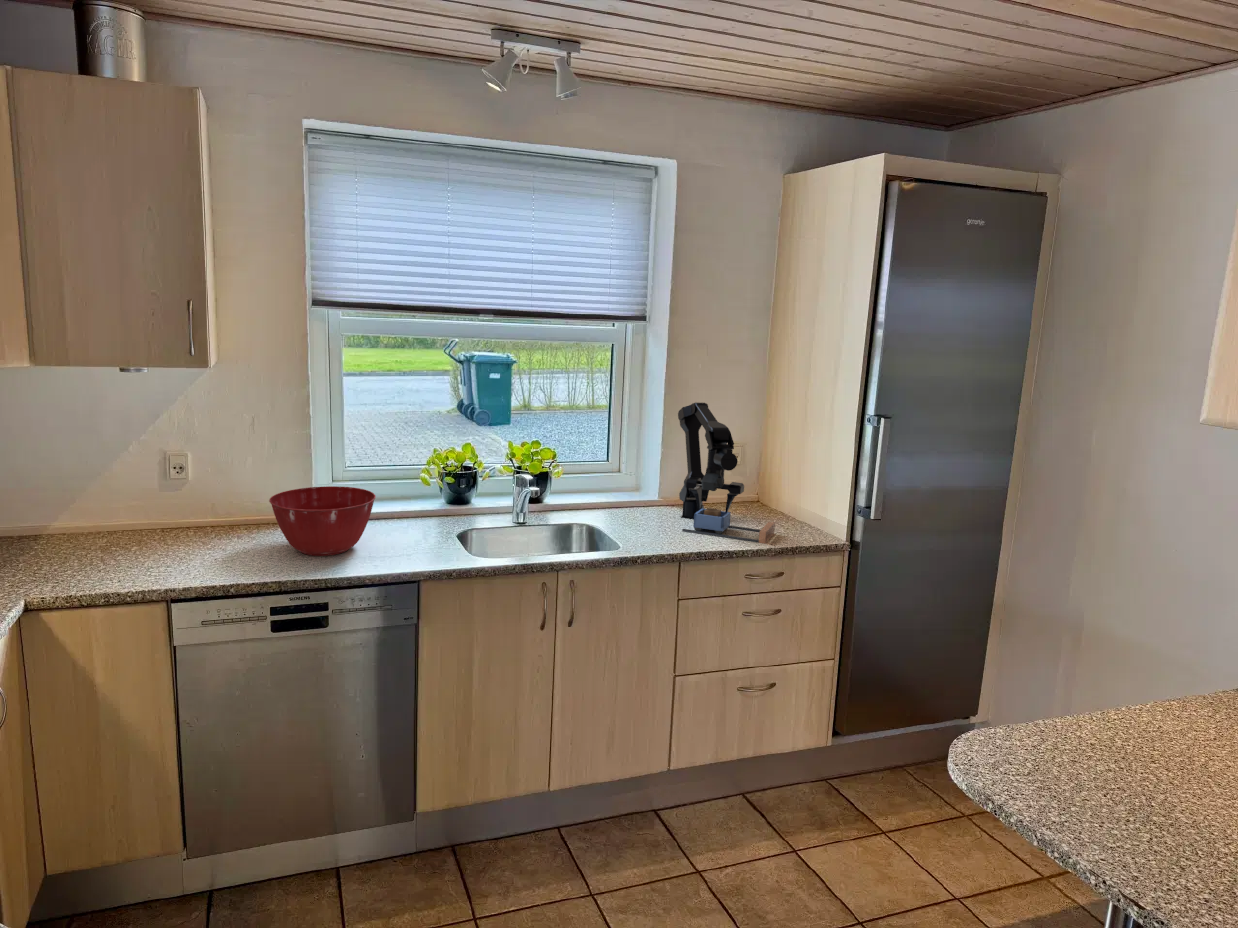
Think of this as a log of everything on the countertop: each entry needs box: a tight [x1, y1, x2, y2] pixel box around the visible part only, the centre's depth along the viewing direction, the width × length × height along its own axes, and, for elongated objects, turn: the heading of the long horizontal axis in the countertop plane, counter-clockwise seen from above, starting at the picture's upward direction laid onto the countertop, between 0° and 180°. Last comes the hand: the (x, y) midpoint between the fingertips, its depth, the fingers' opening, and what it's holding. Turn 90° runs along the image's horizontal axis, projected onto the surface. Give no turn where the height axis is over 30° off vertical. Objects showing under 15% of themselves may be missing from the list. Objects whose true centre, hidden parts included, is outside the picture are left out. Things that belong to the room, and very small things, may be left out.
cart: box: [692, 508, 731, 534], centre depth 288 cm, size 10×9×6 cm
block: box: [704, 507, 722, 517], centre depth 288 cm, size 4×4×4 cm
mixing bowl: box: [268, 485, 377, 557], centre depth 246 cm, size 28×28×16 cm
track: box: [681, 521, 776, 544], centre depth 286 cm, size 28×14×4 cm, turn 68°
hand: (712, 510), depth 288 cm, fingers open, 9 cm apart
